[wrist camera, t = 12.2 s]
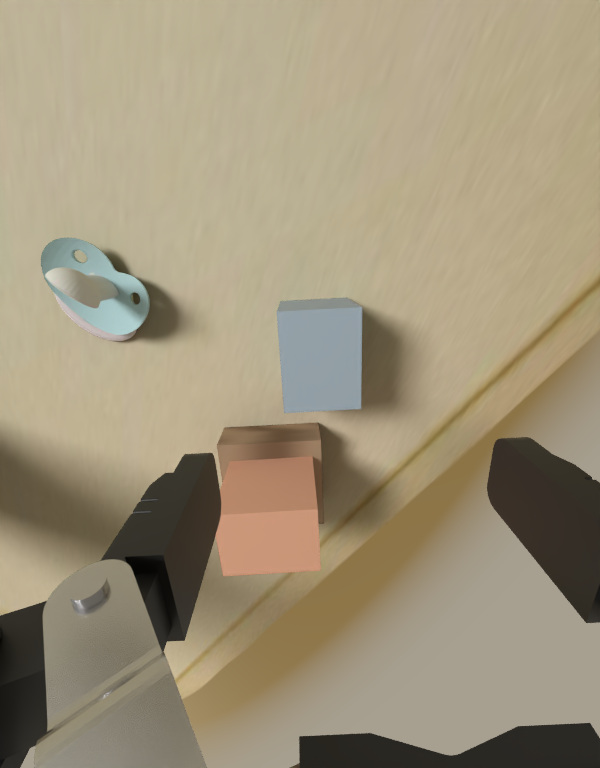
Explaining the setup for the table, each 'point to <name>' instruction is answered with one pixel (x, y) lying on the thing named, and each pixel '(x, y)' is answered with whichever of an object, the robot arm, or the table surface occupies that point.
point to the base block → (274, 448)
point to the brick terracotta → (269, 517)
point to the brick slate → (320, 354)
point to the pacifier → (94, 290)
